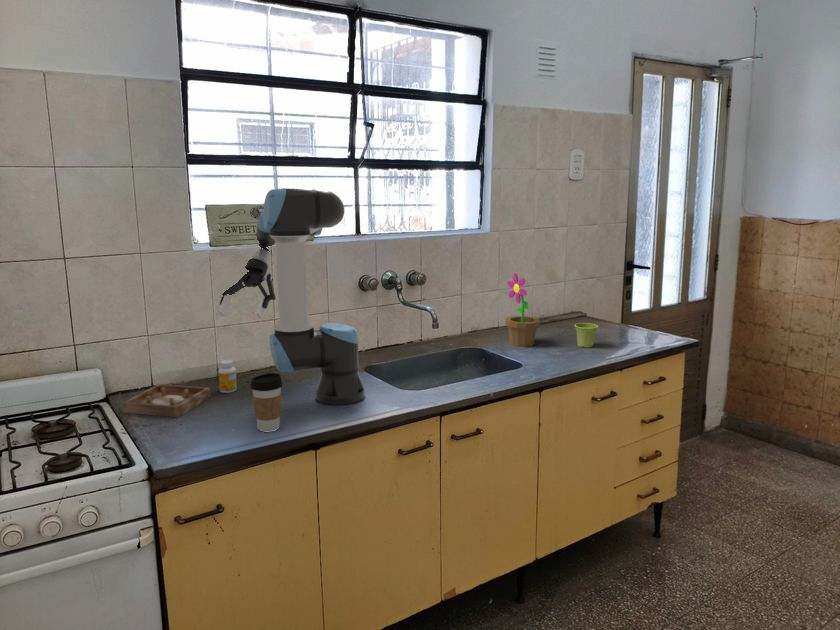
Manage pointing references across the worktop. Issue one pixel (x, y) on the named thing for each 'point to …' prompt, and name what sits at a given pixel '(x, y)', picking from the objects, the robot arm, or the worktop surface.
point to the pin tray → (166, 400)
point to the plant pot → (585, 334)
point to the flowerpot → (521, 318)
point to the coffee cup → (267, 400)
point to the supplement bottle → (227, 377)
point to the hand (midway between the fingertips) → (239, 314)
